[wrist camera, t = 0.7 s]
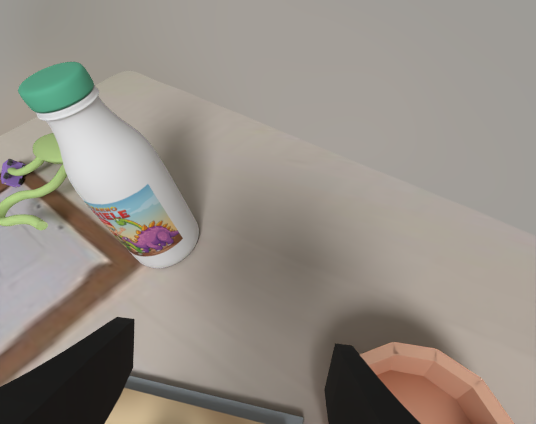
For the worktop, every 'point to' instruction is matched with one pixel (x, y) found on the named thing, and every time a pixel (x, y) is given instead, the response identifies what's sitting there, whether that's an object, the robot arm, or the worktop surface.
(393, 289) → the worktop surface
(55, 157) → the figurine
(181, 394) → the shallow square tray
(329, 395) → the robot arm
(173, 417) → the cover board
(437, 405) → the terracotta bowl
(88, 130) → the milk bottle
